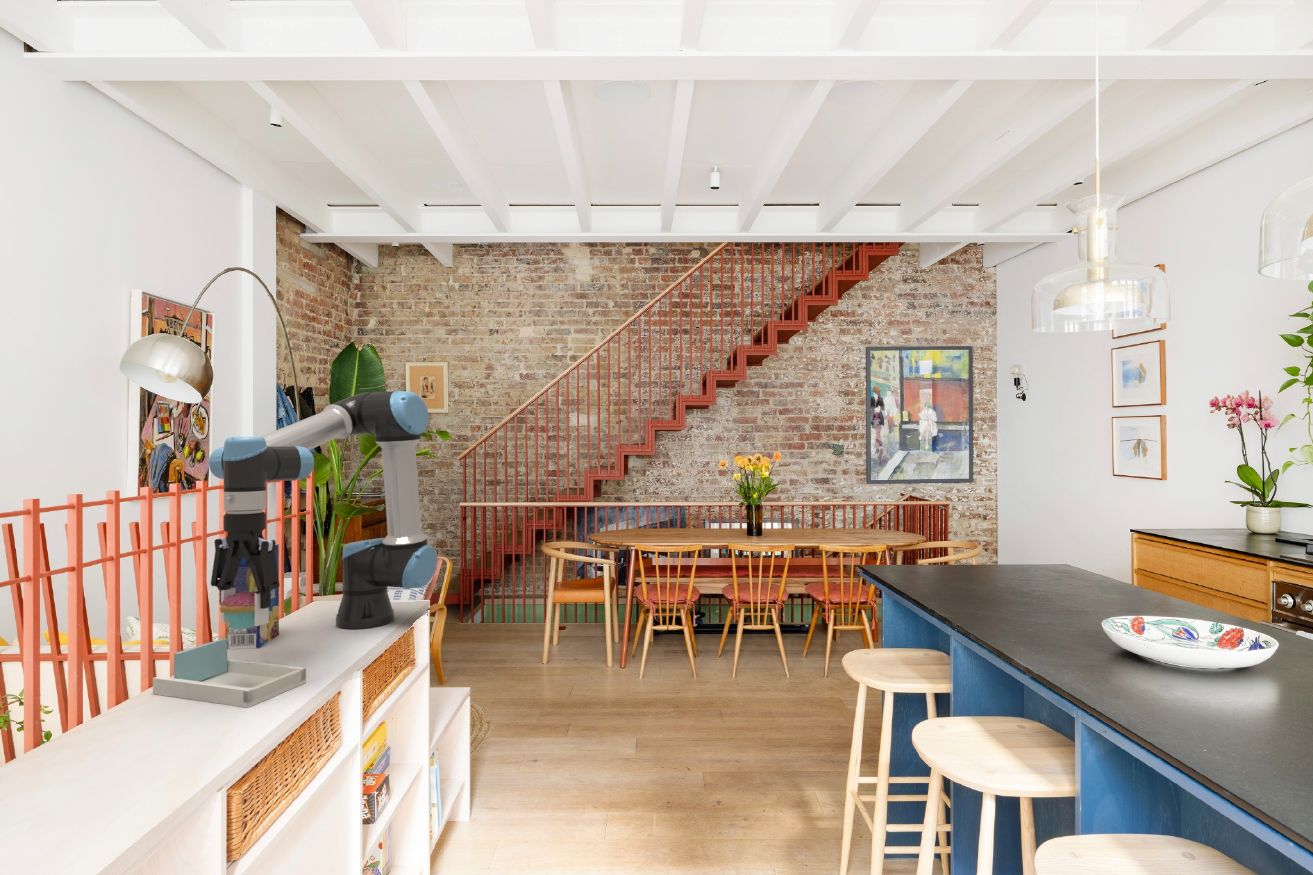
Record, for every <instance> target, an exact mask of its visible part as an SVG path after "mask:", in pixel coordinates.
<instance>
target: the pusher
mask: <svg viewBox="0 0 1313 875" xmlns="http://www.w3.org/2000/svg"><path fill="white" fill-rule="evenodd" d="M227 659H228V650H227V639H226V638H225V637H224V638H220V639H217V640H214V641H210V642H207V643H203V644H201V645H200V644H199V645H197V646H194V647H191V648H188V649H187V648H186V649H184V650H181V651H177V652H174V653H173V670H174V672H173V678H176V679H184V680H191V681H201V680H204V679H207V678H209V677H212V676H215V675H218V674H221V673H223V672H226V671H227Z"/></svg>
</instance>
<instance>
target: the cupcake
mask: <svg viewBox="0 0 1313 875" xmlns="http://www.w3.org/2000/svg"><path fill="white" fill-rule="evenodd" d="M253 585H254V578H253V575H251V581H250V588H249V592H248V591H243V592H238V593H236V594H233V595H231V596H229V597H228V598H226V599H224V601H222V603H221V605H220V607H219V612H220V613H221V612H222V613H225V615H226V616H227V618H228V620H229V622H230V625H231V628H233V629H246V628H251V627H255V592H256V591H253Z"/></svg>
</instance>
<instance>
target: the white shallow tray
mask: <svg viewBox="0 0 1313 875" xmlns="http://www.w3.org/2000/svg"><path fill="white" fill-rule="evenodd" d="M306 673H307V667H304V666H293V665H285V664H284V665H283V664H277V663H269V662H259V661H253V660H252V661H250V660H242V659H236V658H227V671H226V672H223V673H221V674H218V675H215V676H212V677H209V678H207V679H204V680H201V681H191V680H184V679H176V678H174V677H168V676H160V675H158V676H156V677H155V676H154V677H152V694H153V695H158V696H159V695H160V696H165V697H171V698H179V699H185V700H192V701H199V702H208V703H213V704H220V705H228V706H235V707H239V708H241V707H242V708H250V707H251V708H252V707H253V706H255V705H258V704H260V703H262V702H265V701H267V700H270V699H271V698H275V697H277V696H279V695H282V694H283V693H286V692H288V691H291V690H293V689H296V688H298V687H300V686H302V685H305V684H306V683H307V679H306V678H307V677H306V675H307V674H306Z"/></svg>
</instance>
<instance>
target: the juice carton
mask: <svg viewBox="0 0 1313 875" xmlns="http://www.w3.org/2000/svg"><path fill="white" fill-rule="evenodd" d="M279 545H280V544H279V543H276V546H275V557H276V564H277V571H278V578H280V575H279V574H280V572H279V571H280V568H279V566H280V564H279V562H280V560H279V556H280V554H279V552H280V550H279ZM256 556H257V555H256ZM251 575H252V572H251V569H250V566H249V563H248V562H246V561H245V558H243V559H242V560H241V562H240V565H239V568H238V571H237V574H236V576H235V579H234V582H233V584H234V585H235V587H231V588H235V594H236V593H238V592H243V591H248V592H249V588H250V581H251ZM263 586H265V584H263ZM231 588H230V589H231ZM279 590H280V587H279V588H276V589H273V590H272V591H271V605H270V607H269V623H266V624H263V625H259V626H255V627H251V628H246V629H233V628H231V625H230V622H229V621H228V622H225V623H226V630H225V631H226V634H225V635H226V636H225V637H226V638H225V639H227V651H228V650H248V649H250V650H251V649H260V648H262V647H263V646H264V645H266V644H268V643H270V642H271V641H273V639H275V638H277V637H279V635H280V595H279V594H280V593H279ZM253 591H258V589H257V586H256V583H255V580H254V585H253Z"/></svg>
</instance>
